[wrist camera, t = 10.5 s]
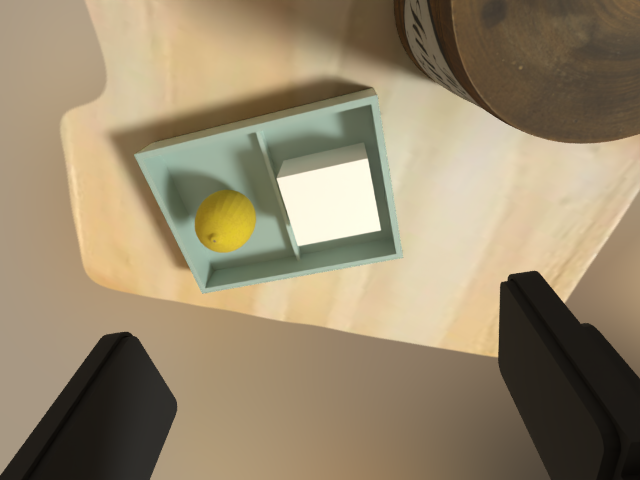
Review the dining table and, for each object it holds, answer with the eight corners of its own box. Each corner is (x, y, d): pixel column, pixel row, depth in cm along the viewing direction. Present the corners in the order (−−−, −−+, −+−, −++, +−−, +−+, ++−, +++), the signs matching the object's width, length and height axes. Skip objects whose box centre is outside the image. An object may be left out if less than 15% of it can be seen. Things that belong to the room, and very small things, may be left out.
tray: (152, 142, 37) (133, 154, 34) (373, 87, 34) (377, 94, 31) (212, 272, 45) (202, 293, 41) (397, 238, 42) (403, 257, 38)
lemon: (200, 207, 40) (171, 245, 33) (226, 167, 38) (201, 199, 31) (245, 235, 41) (226, 278, 34) (272, 199, 39) (258, 236, 32)
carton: (283, 160, 37) (276, 178, 33) (363, 142, 36) (367, 158, 32) (302, 222, 40) (297, 246, 36) (376, 207, 39) (380, 230, 35)
